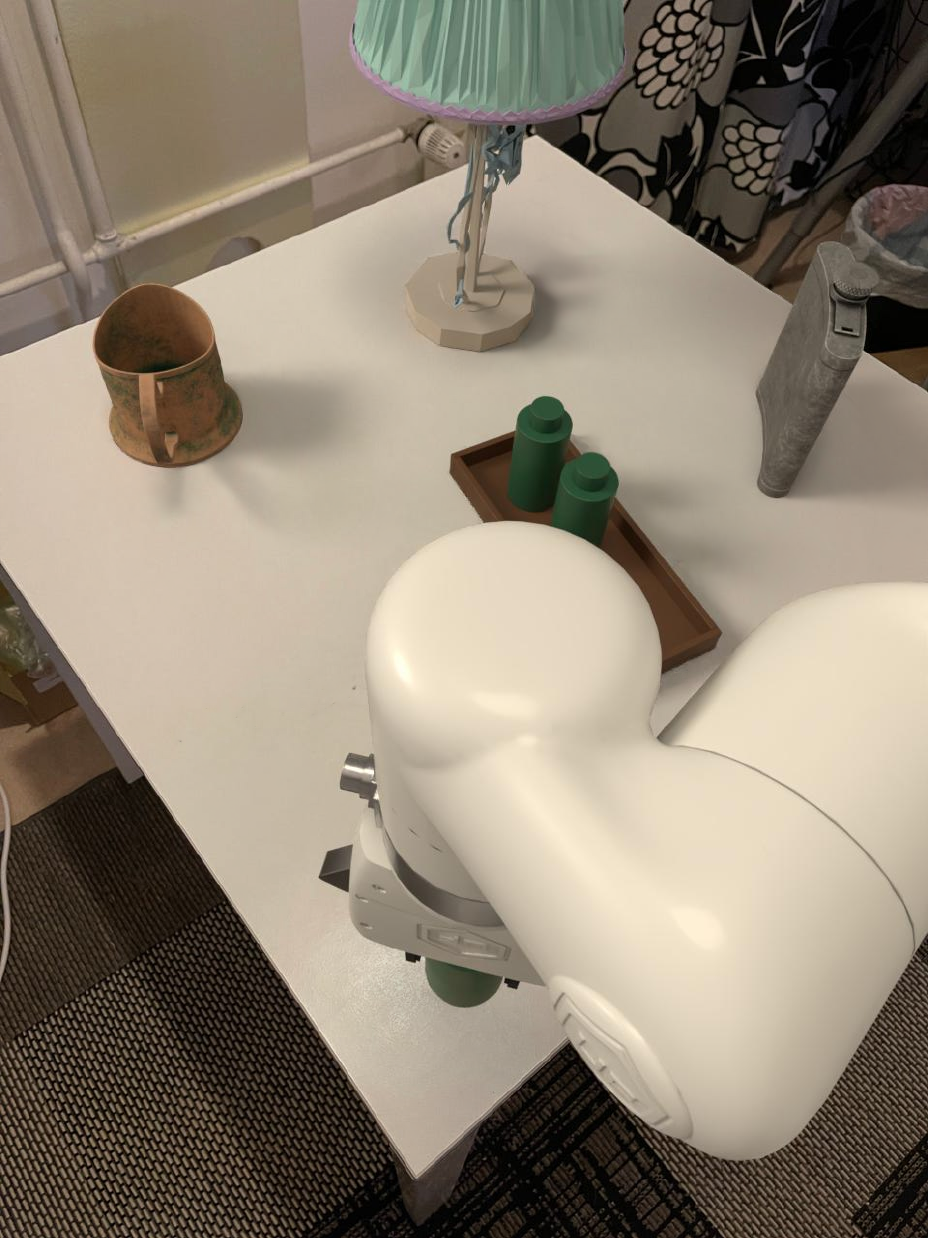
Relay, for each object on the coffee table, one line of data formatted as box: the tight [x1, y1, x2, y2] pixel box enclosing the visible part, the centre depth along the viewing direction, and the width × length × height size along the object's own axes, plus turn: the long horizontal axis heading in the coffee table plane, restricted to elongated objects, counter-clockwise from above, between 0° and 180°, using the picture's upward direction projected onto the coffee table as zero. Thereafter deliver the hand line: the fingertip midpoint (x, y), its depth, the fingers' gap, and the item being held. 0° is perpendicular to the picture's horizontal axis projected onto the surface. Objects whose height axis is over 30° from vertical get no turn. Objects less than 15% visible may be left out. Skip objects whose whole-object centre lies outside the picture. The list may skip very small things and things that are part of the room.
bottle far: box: [507, 395, 574, 512], centre depth 75 cm, size 4×4×10 cm
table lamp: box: [348, 0, 628, 353], centre depth 76 cm, size 22×22×40 cm
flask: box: [755, 241, 880, 499], centre depth 77 cm, size 4×14×18 cm, turn 171°
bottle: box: [424, 957, 504, 1009], centre depth 47 cm, size 4×4×10 cm
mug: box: [92, 282, 243, 468], centre depth 76 cm, size 12×18×12 cm, turn 11°
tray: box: [449, 430, 724, 675], centre depth 75 cm, size 25×10×2 cm, turn 28°
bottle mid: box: [550, 451, 620, 549], centre depth 72 cm, size 4×4×10 cm
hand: (468, 944), depth 47 cm, fingers closed on bottle, 4 cm apart
